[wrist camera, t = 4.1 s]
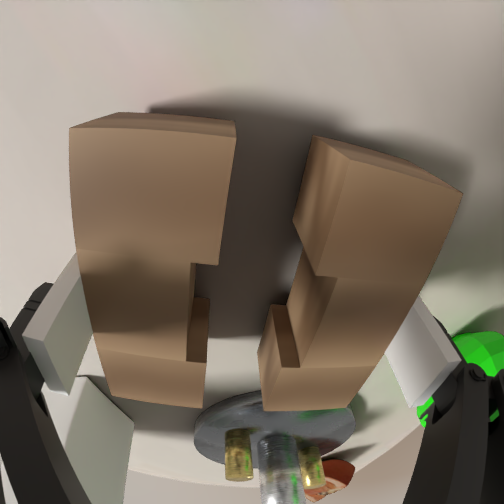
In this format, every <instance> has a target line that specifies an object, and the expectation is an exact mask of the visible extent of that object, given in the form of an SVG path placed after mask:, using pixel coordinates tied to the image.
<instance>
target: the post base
mask: <svg viewBox="0 0 504 504" xmlns="http://www.w3.org/2000/svg"><path fill="white" fill-rule="evenodd" d="M355 426H356V421H355V418H354V415H353V412H352V408H351V406H350V403H349V404H348V406H347V407H346V408H337V409H323V410H305V411H264V410H263V400H262V391H256V392H251V393H246V394H242V395H239V396H235V397H232V398H229V399H226V400H224V401H221V402H219V403H217V404H215V405H213V406H211V407H210V408H208V409H207V410H205V411H204V412H203V413H202V414H201V415H200V416H199V417H198V419H197V420H196V423H195V430H194V445H195V447H196V449H197V450H198V451H199V453H201V454H202V455H203V456H205V457H206V458H208V459H210V460H213V461H215V462H218V463H221V464H225V475H226V479H227V480H229V481H248V480H251V479H253V468H259V479H260V489H261V501H262V504H306V499H305V493H304V489H315V488H319V487H322V486H324V485H326V480H325V475H324V471H323V466H322V461H321V456H322V455H324V454H327V453H329V452H330V451H332V450H334V449H336V448H337V447H339V446H340V445H342V444H343V443H344V442H345V441H346V440H347V439H349V437H350V436H351V435H352V434H353V432H354V430H355ZM300 467H301V469H300ZM301 473H302V475H301ZM302 479H303V481H302ZM303 485H304V487H303Z"/></svg>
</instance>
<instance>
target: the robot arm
mask: <svg viewBox="0 0 504 504" xmlns="http://www.w3.org/2000/svg"><path fill="white" fill-rule="evenodd" d="M92 334H93V331H92V327H91V323H90V318H89V314H88V310H87V305H86V300H85V295H84V290H83V285H82V280H81V275H80V271H79V265H78V258H77V252H76V253H75V255H74V256H73V257H72V259H71V260H70V262H69V263H68V264H67V266H66V267H65V269H64V270H63V271H62V273H61V274H60V276H59V277H58V279H57V280H56V282H55V283H54V284H52V283H47V282H45V283H44V284H42V285H41V286H39V287H38V288H37V289H35V291H34V292H33V293H32V295H31V296H30V298H29V301H27V302H26V304H25V305H24V308H23V309H22V310H21V311H20V313H19V314H18V316H17V317H16V319H15V321H14V322H13V324H12V325H11V327H10V329H9V327H8V325H7V323H6V321H5V320H4V319H3V318H1V317H0V453H1V457H2V460H3V464H4V467H5V470H6V473H7V476H8V479H9V481H10V484H11V487H12V489H13V492H14V495H15V497H16V500H17V502H18V504H92V503H91V501H90V500H89V498H88V496H87V494H86V493H85V491H84V489H83V487H82V485H81V483H80V481H79V479H78V477H77V476H76V474H75V471H74V469H73V467H72V465H71V463H70V461H69V459H68V457H67V455H66V452H65V450H64V448H63V445H62V443H61V441H60V438H59V436H58V433H57V431H56V428H55V426H54V423H53V420H52V418H51V415H50V412H49V409H48V406H47V403H46V400H45V397H44V395H43V393H42V391H41V389H42V387H43V384H44V382H45V383H46V385H47V387H48V388H49V390H50V391H52V392H55V393H58V394H62V395H65V396H69V395H70V392H71V389H72V386H73V383H74V381H75V378H76V375H77V372H78V370H79V367H80V364H81V362H82V359H83V356H84V354H85V351H86V349H87V346H88V344H89V341H90V339H91V336H92ZM385 355H386V357H387V359H388V361H389V363H390V366H391V368H392V370H393V372H394V374H395V377H396V379H397V381H398V383H399V386H400V388H401V390H402V392H403V395H404V397H405V399H406V402H407V404H408V406H409V408H412V407H417V406H421V405H424V404H425V402H426V401H427V400H428V399H429V398H430V397H431V396H432V398H433V400H434V402H433V403H432V404H431V405H430V406H429V407H428V408H427V409H426V410H425V411H424V412H423V413H422V414H421V416H420V418H419V419H422V418H423V417H424V416H425V415H426V414H428V417H427V418H426V419H425V420H424V421H426V426H425V430H424V435H423V439H422V443H421V447H420V451H419V454H418V458H417V462H416V465H415V468H414V472H413V475H412V478H411V481H410V484H409V487H408V490H407V493H406V496H405V498H404V501H403V504H504V369H501V370H500V371H499V372H498V373H497V374H496V375H495V376H494V377H493V376H487V375H486V373H485V371H484V370H483V369H482V368H481V367H480V366H478V365H477V364H474V363H467V362H466V360H465V359H464V357H463V355H462V354H461V352H460V351H459V349H458V347H457V346H456V344H455V343H454V341H453V340H452V338H451V337H450V335H449V334H447V331H446V329H445V328H444V326H443V325H442V323H441V322H440V321H439V320H437V319H436V318H435V317H434V316H433V315H432V314H431V312H430V311H429V310H428V308H427V307H426V305H425V304H424V302H423V301H422V300H421V298H420V297H419V295H418V297H417V299H416V301H415V303H414V304H413V305H412V307H411V309H410V311H409V313H408V314H407V316H406V318H405V320H404V321H403V323H402V325H401V327H400V328H399V330H398V332H397V333H396V335H395V337H394V338H393V340H392V341H391V343H390V345H389V346H388V348H387V349H386V351H385ZM497 410H498V412H499V416H498V417H497V418H496V419H494V420H493V421H492V422H491V421H490V417H491V416H492V415H493V414H494V413H495V412H496V411H497ZM0 504H6V502H5V497H4V491H3V484H2V477H1V468H0Z"/></svg>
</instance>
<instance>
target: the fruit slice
mask: <svg viewBox="0 0 504 504" xmlns="http://www.w3.org/2000/svg"><path fill="white" fill-rule="evenodd" d="M322 466H323V471H324V475H325V480H326V485H324V486H322V487H319V488H315V489H304V493H305V497H306V498H307V499H309V500H310V501H312V502H316V501H319V500H320V499H322V498H324V497H325V496H326V495H328V494H332V493H335V492H336V491H338V490H341V489H343V488H345V487H346V486H347V485H348V484H349V482H350V481H351V479H352V477H353V474H354V472H355V467H354V466H353V465H352V464H350V463H349V462H347V461H344V460H338V459H332V460H326V461H323V462H322ZM301 475H302V474H301ZM302 481H303V479H302ZM303 487H304V485H303Z"/></svg>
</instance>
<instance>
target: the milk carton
mask: <svg viewBox="0 0 504 504" xmlns="http://www.w3.org/2000/svg"><path fill="white" fill-rule="evenodd" d="M41 391H42V393H43V395H44V397H45V400H46V403H47V406H48V409H49V412H50V415H51V418H52V420H53V423H54V426H55V428H56V431H57V433H58V436H59V438H60V441H61V443H62V445H63V448H64V450H65V452H66V455H67V457H68V459H69V461H70V463H71V465H72V467H73V469H74V471H75V474H76V476H77V477H78V479H79V481H80V483H81V485H82V487H83V489H84V491H85V493H86V494H87V496H88V498H89V500H90V501H91V503H92V504H123V499H124V490H125V483H126V476H127V469H128V462H129V455H130V449H131V443H132V437H133V431H134V425H135V423H134V422H133V421H132V420H131V419H130V418H128V417H127V416H126V415H125V414H124V413H123V412H122V411H121V410H120V409H119V408H118V407H117V406H115V405H114V404H113V403H112V402H111V401H110V400H109V399H108V398H107V397H106V396H105V395H104V394H103V393H102V392H101V391H100V390H99V389H98V388H97V387H96V386H95V385H94V384H93V383H92V382H91V381H90V380H89V379H88V378H87V377H76V378H75V381H74V383H73V386H72V389H71V392H70V395H69V396H65V395H62V394H58V393H55V392H52V391H50V390H49V388H48V387H47V385H46V383H45V382H44V384H43V387H42V389H41ZM1 477H2V484H3V491H4V497H5V502H6V504H18V502H17V500H16V497H15V495H14V492H13V489H12V487H11V484H10V481H9V479H8V476H7V473H6V470H5V467H4V464H3V462H2V465H1Z"/></svg>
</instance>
